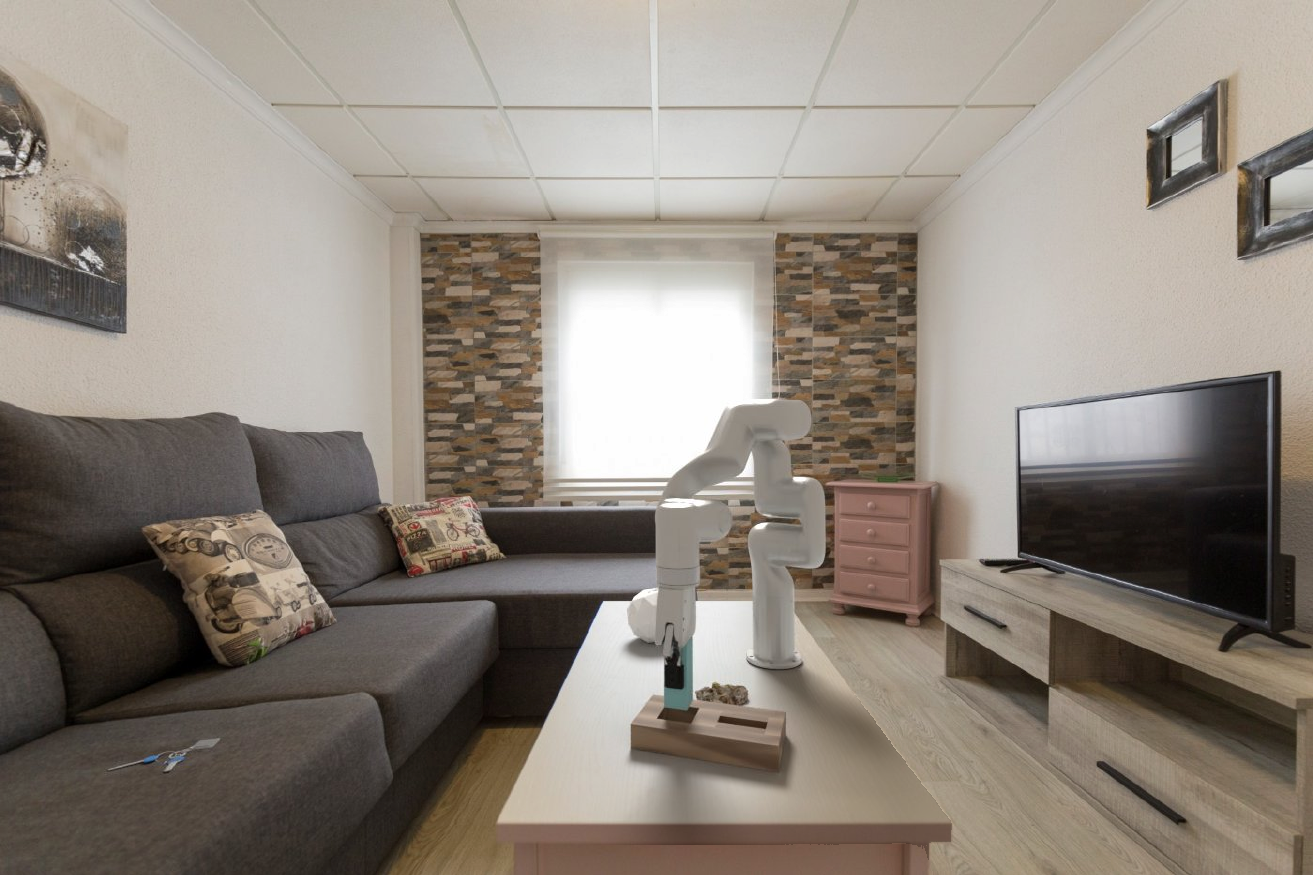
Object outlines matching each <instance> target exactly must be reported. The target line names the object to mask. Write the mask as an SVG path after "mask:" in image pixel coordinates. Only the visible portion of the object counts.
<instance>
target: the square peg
mask: <svg viewBox="0 0 1313 875" xmlns="http://www.w3.org/2000/svg"><path fill="white" fill-rule="evenodd" d="M693 638H694V637H693V636H692V638H691V639H690V640H689V641H688V643H687V644H686V645H685V646H684V647H683V649H682V665H684V688H683V689H682V690H679V689H671V688H666V687H665V664H664V663H663V696H664V707H666V708H673V709H680V710H688V708H689V706H690V705H691V703H692V701H693V700H694V685H693V684H694V683H693V682H694V673H693V672H694V669H693V667H694V666H693V664H694V660H693V659H694V658H693V657H694V656H693V652H694V651H693V648H694V644H693V642H694V641H693V640H694V639H693ZM664 642H665V641H664ZM673 645H678V643H676V642H674V643H673ZM673 651H674V653H676V654H677V655H678V650H673ZM664 659H665V657H664V656H663V660H664Z"/></svg>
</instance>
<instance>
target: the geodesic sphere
mask: <svg viewBox="0 0 1313 875" xmlns="http://www.w3.org/2000/svg"><path fill="white" fill-rule="evenodd" d="M658 589H659V587H656V588H648V589H643V590H641V591H640V592H639V593H637V594H636V595H635V596H633V599H632V600H631V602H630V603H629V605H628V607H627V609H626V612H627V624H628V626H629V628H630V629H631V631H632V633H633V635H634V636H636V637H637V638H639V639H641V640H642V641H644V642H646V643H647V644H649V643H650V644H651V643H655V626H656V606H657V596H658Z"/></svg>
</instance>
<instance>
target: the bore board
mask: <svg viewBox="0 0 1313 875" xmlns="http://www.w3.org/2000/svg"><path fill="white" fill-rule="evenodd" d="M786 736H787V712H786V711H783V710H775V709H767V708H760V707H752V706H745V705H731V704H723V703H716V702H708V701H700V700H697V699H693V701H692V703H691V705H690V706H689V708H688V710H680V709H673V708H666V707H664V695H661V694H656V693H655V694H654V693H653V694H652V695H651V696H650V698H649V699H648V700H647V702H646V703H645V704H644V705H643V707H642V708H641V710H639V712H638V713H637V715H636V716H635V718H633V720H632V721H631V723H630V749H633V750H639V751H645V752H651V753H656V754H657V753H658V754H663V755H669V756H675V757H681V758H688V759H693V760H701V761H707V762H713V763H719V764H726V765H729V766H737V767H744V768H750V769H754V770H755V769H756V770H762V771H769V772H772V773H773V772H775V773H779V772H780V769H781V768H780V767H781V762H782V757H783V751H784V747H785V741H786V738H787V737H786Z"/></svg>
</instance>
